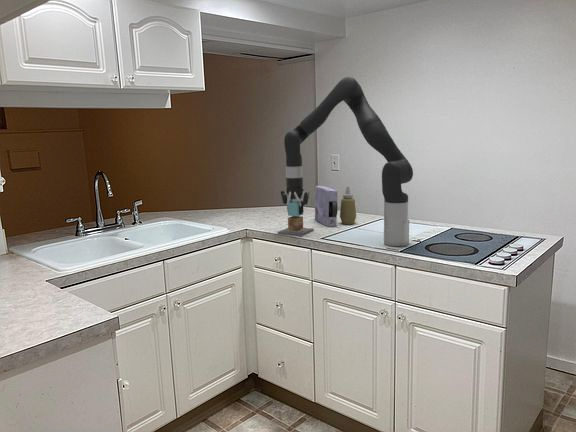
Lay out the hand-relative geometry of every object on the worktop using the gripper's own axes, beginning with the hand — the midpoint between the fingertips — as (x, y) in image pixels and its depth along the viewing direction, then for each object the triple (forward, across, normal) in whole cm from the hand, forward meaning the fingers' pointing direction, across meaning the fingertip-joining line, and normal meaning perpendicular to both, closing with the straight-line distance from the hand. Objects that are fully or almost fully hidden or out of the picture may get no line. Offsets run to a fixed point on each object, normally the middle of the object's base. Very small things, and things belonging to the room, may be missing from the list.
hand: (295, 213), depth 211 cm
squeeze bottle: (+9, -14, -27) cm, 32 cm away
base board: (+9, 0, 0) cm, 9 cm away
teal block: (+1, 0, 0) cm, 1 cm away
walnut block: (+8, 0, 0) cm, 8 cm away
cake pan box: (+9, -4, -23) cm, 25 cm away
